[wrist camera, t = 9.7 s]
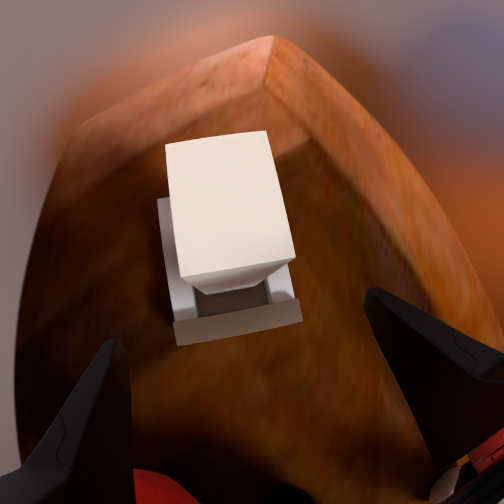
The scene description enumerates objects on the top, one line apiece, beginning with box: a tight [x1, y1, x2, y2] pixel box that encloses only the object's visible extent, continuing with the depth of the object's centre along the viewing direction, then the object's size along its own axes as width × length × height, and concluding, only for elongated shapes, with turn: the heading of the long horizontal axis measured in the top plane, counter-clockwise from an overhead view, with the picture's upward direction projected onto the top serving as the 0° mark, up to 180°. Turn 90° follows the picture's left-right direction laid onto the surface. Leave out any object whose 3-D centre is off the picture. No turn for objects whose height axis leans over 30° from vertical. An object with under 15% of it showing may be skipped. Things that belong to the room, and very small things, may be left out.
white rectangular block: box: [165, 131, 296, 295], centre depth 15 cm, size 4×3×13 cm
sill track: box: [157, 197, 303, 346], centre depth 20 cm, size 10×9×4 cm
